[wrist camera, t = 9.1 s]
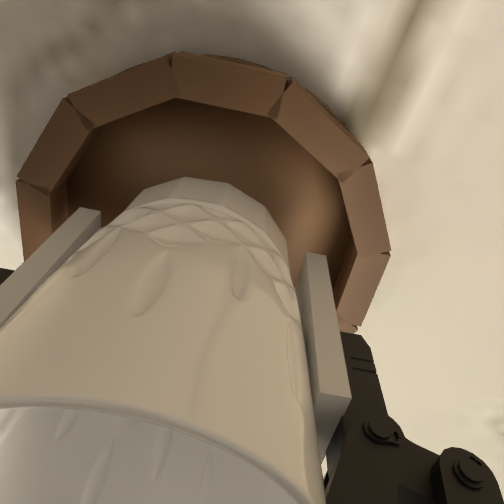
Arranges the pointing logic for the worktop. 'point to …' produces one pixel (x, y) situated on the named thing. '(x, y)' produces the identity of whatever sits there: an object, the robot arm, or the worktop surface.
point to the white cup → (163, 363)
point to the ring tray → (215, 161)
